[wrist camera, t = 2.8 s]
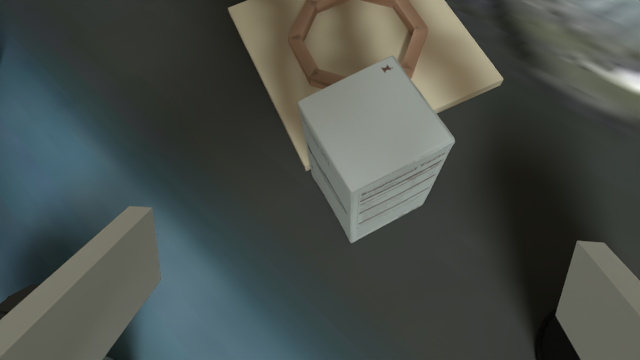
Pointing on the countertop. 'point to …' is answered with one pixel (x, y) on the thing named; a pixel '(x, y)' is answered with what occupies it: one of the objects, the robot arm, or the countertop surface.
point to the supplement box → (373, 146)
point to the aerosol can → (554, 341)
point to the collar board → (359, 50)
